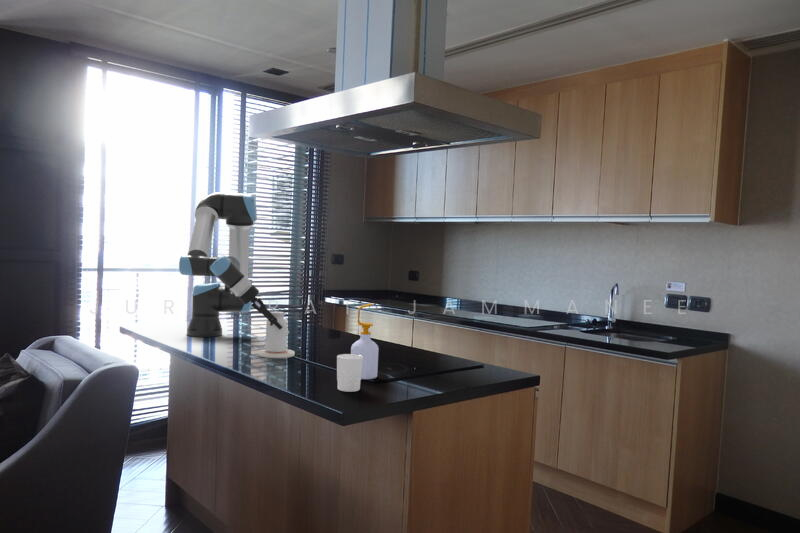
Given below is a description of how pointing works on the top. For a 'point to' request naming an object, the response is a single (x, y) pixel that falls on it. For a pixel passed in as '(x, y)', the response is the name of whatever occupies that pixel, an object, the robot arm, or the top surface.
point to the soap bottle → (366, 350)
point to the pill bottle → (276, 335)
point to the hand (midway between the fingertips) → (284, 332)
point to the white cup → (349, 372)
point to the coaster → (276, 354)
